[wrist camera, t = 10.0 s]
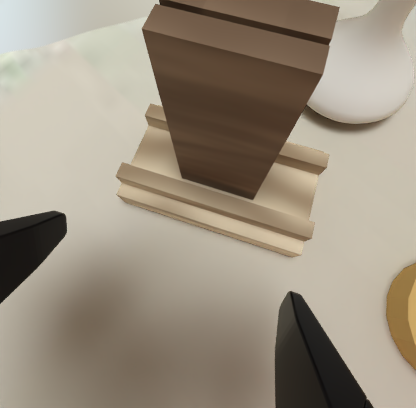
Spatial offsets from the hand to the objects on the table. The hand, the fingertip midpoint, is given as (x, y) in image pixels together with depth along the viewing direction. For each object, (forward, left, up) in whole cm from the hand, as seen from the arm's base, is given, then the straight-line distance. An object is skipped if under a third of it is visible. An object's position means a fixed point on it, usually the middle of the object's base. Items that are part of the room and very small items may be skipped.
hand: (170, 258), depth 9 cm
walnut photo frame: (+8, +2, -9) cm, 12 cm away
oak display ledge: (+8, +2, -11) cm, 14 cm away
